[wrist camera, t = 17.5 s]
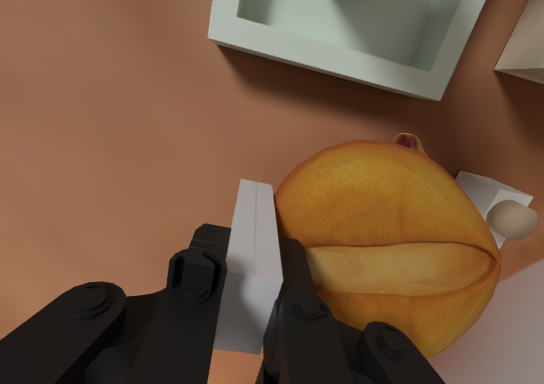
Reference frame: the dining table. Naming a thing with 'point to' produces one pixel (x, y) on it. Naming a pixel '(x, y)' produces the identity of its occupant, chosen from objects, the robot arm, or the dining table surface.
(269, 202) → the robot arm
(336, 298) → the cheeseburger
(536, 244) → the dining table surface
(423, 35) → the tray
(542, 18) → the jig block
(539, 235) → the dining table surface
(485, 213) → the rail
